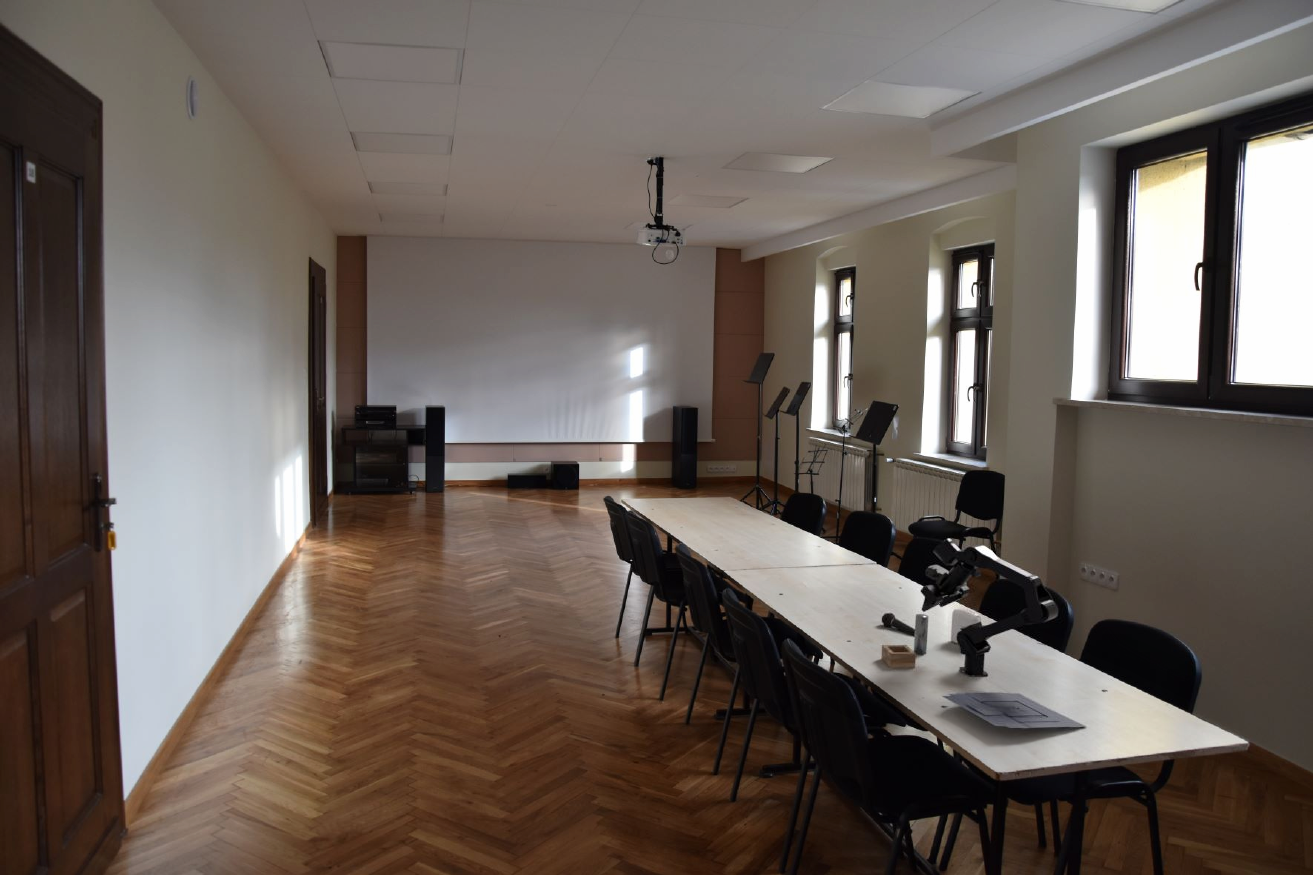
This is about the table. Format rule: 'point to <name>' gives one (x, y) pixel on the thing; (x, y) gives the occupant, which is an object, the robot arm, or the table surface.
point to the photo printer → (962, 620)
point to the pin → (921, 634)
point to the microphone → (896, 623)
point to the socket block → (898, 656)
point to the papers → (1010, 710)
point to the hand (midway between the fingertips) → (931, 608)
